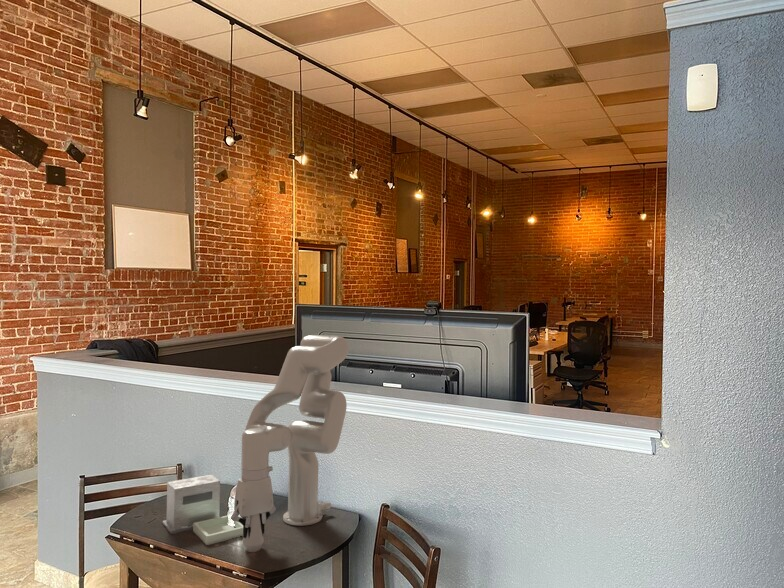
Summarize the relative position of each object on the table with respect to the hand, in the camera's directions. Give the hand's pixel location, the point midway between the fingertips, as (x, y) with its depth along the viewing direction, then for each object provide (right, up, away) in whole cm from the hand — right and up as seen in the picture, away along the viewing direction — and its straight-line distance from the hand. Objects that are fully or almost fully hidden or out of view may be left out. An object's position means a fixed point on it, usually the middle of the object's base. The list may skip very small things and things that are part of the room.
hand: (253, 537), depth 160 cm
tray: (-13, -3, +10) cm, 17 cm away
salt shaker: (0, -3, 0) cm, 3 cm away
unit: (-24, -3, +18) cm, 30 cm away
